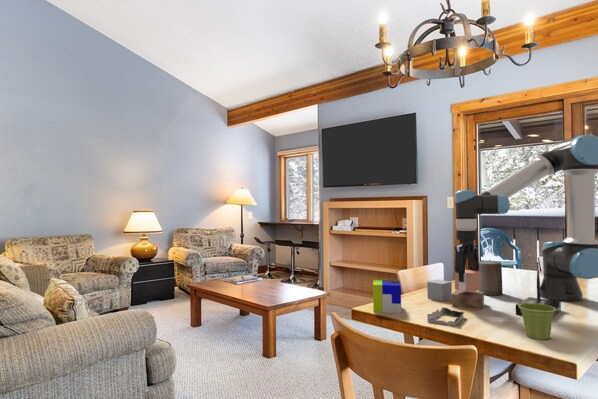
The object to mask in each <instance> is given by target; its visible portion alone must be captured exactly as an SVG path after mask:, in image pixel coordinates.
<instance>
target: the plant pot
mask: <svg viewBox="0 0 598 399" xmlns="http://www.w3.org/2000/svg"><path fill="white" fill-rule="evenodd" d="M519 308H520V310H521V313H522V315H521V316H522V319H523V325H524V326H523V327H524V330H525V335H526V337H529V338H532V339H535V340H547V339H551V334H552V326H553V318H554V317H553V315H554V311H556V308H554V307H552V306H548V305H543V304H533V303H526V304H520V305H519Z"/></svg>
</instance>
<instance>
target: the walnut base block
mask: <svg viewBox="0 0 598 399" xmlns="http://www.w3.org/2000/svg"><path fill="white" fill-rule="evenodd" d="M484 305H485V295H484V292H479V290H478V291H475V292H468V291H462V290H455V291H454V292H452V298H451V307H452V308H459V307H461V308H460V309H468V308H469V309H470V310H479V311H481V310H482V308H483V307H484Z"/></svg>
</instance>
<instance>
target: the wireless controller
mask: <svg viewBox="0 0 598 399" xmlns="http://www.w3.org/2000/svg"><path fill="white" fill-rule="evenodd" d="M539 266H540V263H539V262H538V261H537V262H536V297H531V296H529V297H527V298H525V299H523V300H521V301H520V302H518V303H516V304H515V315H517V316H522V313H521V310H520V308H519V305H520V304H526V303H533V304H543V305H548V306H552V307H554V308H556V311H554V315H553V318H554V317H555V316H557V315H558V314H559V313H560V312H561V311H562V302H561V300H553V299H548V298H545V299H544V298H541V296H540V286H541V278H540V271H539V270H540V269H539V268H540V267H539Z"/></svg>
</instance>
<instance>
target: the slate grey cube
mask: <svg viewBox="0 0 598 399" xmlns="http://www.w3.org/2000/svg"><path fill="white" fill-rule="evenodd" d="M426 283H427V286H426V289H427V299H429V300H430V299H431V300H435V301H440V302H445V301H448V300H452V294H453V290H452V289H453V288H452V283H453V282H452V281H449V280H441V279H433V280H429V281H427V282H426Z"/></svg>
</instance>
